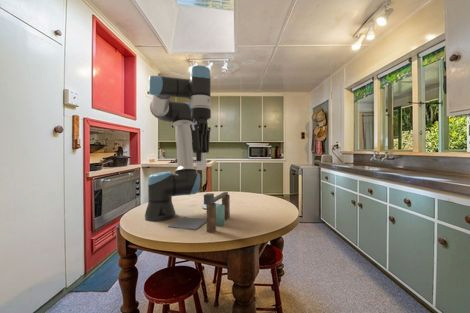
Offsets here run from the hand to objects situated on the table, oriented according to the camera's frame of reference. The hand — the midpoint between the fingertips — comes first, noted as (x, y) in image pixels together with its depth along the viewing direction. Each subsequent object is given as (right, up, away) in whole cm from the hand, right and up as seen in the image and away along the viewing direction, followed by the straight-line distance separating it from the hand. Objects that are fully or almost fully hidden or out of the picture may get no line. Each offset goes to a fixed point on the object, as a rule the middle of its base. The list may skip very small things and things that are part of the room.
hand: (201, 169), depth 86 cm
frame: (+6, -27, +18) cm, 33 cm away
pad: (-9, -27, +20) cm, 34 cm away
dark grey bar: (+5, -15, +16) cm, 22 cm away
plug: (+6, -27, +18) cm, 33 cm away
